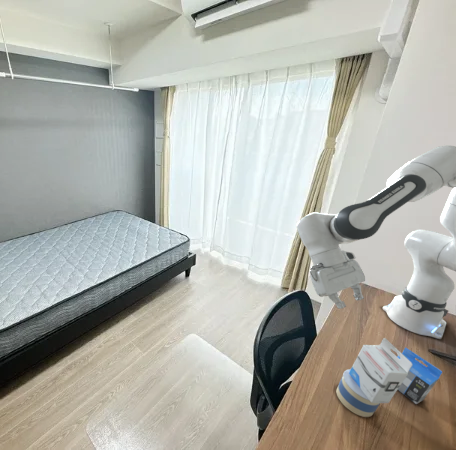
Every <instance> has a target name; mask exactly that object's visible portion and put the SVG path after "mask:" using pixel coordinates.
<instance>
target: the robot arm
mask: <svg viewBox="0 0 456 450" xmlns="http://www.w3.org/2000/svg"><path fill="white" fill-rule="evenodd" d="M385 186H386V187H385V188H384V189H382V190H381V191H379V192H378V193H376V194H375V195H373V196H372V197H371V198H368V199H367V200H366V201H363V202H359V203H354V204H350V205H347V206H346V207H344V208H342V209H341V210H340V211H339V212H338V213H336V214H335V213H334V214H333V213H329V214H328V213H321V212H317V211H314V212H311V213H309V214H306V215H305V216H304V217H302V218H300V219H299V221H298V222H297V223H296V229H297V230H296V231H297V233H298V235H299V237H300V240H301V242H302V244H303V246H304V247H305V248H306V250H307V251H308V256H309V258H310V260H311V262H312V264H313V265H311V266H310V269H309V275H310V281H311V284H312V286H313V288H314V291H315V293H316V294H317V296H319V297H321V298H322V297H328V298H329V300H330V301H332V302H333V303H334V304H335V306H336V308H337V309H344V308H346V307H347V304H346V303H345V301H344V300H341V299H340V297H339V294H338V293H340V292H342V291H344V290H347V289H349V288H351V289H352V291H353V298H354V300H355V301H362V300H364V298H365V297H364V295H363V293H362V286H361V285H360V284H361V283H364V282H365V281H366V275H365V273H364V270H363V269H362V267H361V266H360V264H359V263H358V261H357V260H356V258H357V257H356V255H355V254H354V253H353V252H351V251H345V250H342V249H341V247H340V245H342V244H343V245H345V244H346V245H347V244H351V243H355V242H357V241H360V240H366V239H369V238H371V237H373V236H374V235H375V234H376V233H377V232H378V231H379V230H380V228H381V226H382V225H383V222H384V221H385V220H386V218H387V217H389V215H392V213H394V212H395V211H397V210H398V209H400V208H401V207H403V206H404V205H405V204H407V203H415V202H418V201H420V200H422V199H425V198H426V197H428V196H430V195H432V194H434V193H435V192H437V191H439V190H440V189H442V188H443V187H448V188H452V189H451V191H450V193H449V195H448V198H447V200H446V202H445V204H444V207H443V209H442V212H441V214H440V216H439V222H440V224H441V226H442V227H443V228H444V229H445V230H447V231H448V232H449V233H450V235H451V236H450V235H448V234H443V233H441V232H437V231H433V230H427V229H426V230H425V229H416V230H413V231H411V232H410V233H409V234H408V235H407V236H406V237H405V239H404V242H403V243H404V244H403V245H404V249H405V250H406V251H407V252H408V254H409V255H410V257H411V260H412V264H413V272H412V275H411V278H410V279H409V282H408V284H407V286H405V287H404V289H403V290H402V292H401V294H399V295H395V296H394V297H393V299H392V301H391V302H390V303H389V304H388V305H384V306H383V307H382V310H383V311H384V312H385V313H386V314H387V317H388V318H389V319H390V320H391V321H392V322H393V323H395V324H396V325H398V326H399V327H401V328H402V329H404V330H407V331H409V332H412V333H414V334H416V335H420V336H426V337H427V336H428V337H431V338H435V339H438V340H442V338H443V336H444V333H445V330H446V326H447V321H446V320H444V317H446V316H447V315H448V313H449V310H448V309H446V307H447V301H448V300H449V298H450V296H451V295H452V294H453V292H454V290H455V282H454V280H453V279H452V278H451V277H450V276H449V275H448V274H447V272H446V271H445V268H446V269H449V270H452V271H454V272H456V146H454V145H440V146H438V147H434V148H431V149H430V150H428V151H426V152H424V153H422V154H420V155H418V156H416V157H415V158H413V159H412V160H410V161H408V162H407V163H405V164H404V165H403V166H401V167H400V168H399V169H397V170H396V171H395V172H394V173H393V174H392V175H391V176H389V178H388V179H387V180H386V185H385Z"/></svg>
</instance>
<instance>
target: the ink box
mask: <svg viewBox="0 0 456 450" xmlns="http://www.w3.org/2000/svg"><path fill="white" fill-rule="evenodd" d="M394 352H395V353H396V354H395V353H394ZM402 353H403V352H401V351H400V350H399V349H398V348H397V347H396V346H395V345H394V344H393V343H392V342H390V341H389V340H388V339H387V338H386V337H383V338H382V340H381V342H380V344H363V345H362V348H361V349H360V351H359V353H358V355H357V357H356V358H355V360H354V362H353V364H352V366H351V368H350V369H351V370H350V372H349V374H350V376H351V377H352V378H353V379H354V381H355V382H356V383H357V385H358V386H359V387H360V389H361V390H362V391H363V392H364V394H365V395H366V396H367V398H368V399H369V400H370V402H371V403H380V404H389V403H390V402H391V400H392V399H393V397H394V396H395V394H396V393H397V391H399V390H398V388H399V387H400V385H401V384H402V382H403V381H404V379H405V378H406V376H407V375H408V372H409V370H410V368H411V367H412V363H411V362H410V361H409V360H408V359H407V358H406V357H405V356H404V355H403V354H402ZM397 356H399V357H400V359H399V358H398V357H397Z"/></svg>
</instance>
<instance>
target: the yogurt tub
mask: <svg viewBox="0 0 456 450" xmlns="http://www.w3.org/2000/svg"><path fill="white" fill-rule="evenodd" d="M350 370H351V368H350V369H349V368H348V369H346V370H344V371H343V374H342V376H341V378H340V381H339V382H338V386H337V388H336V390H335V391H336V396H337V398H338V400H339V401H340V403H341V404H342V405H343V406H344V407H345V408H346V409H348V411H350V412H352V413H353V414H355V415H357V416H359V417H364V418H369V417H372V416H373V415H374V413H375V412H376V411H377V409H378V408H379V406H380V404H381V403H371V402H370V400H369V399H368V398H367V396H366V395H365V394H364V392H363V391H362V390H361V389H360V387H359V386H358V385H357V383H356V382H355V381H354V379H353V378H352V377H351V376H350V374H349V372H350Z"/></svg>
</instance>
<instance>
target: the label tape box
mask: <svg viewBox="0 0 456 450" xmlns="http://www.w3.org/2000/svg"><path fill="white" fill-rule="evenodd" d="M401 353H402V354H403V355H404V356H405V357H406V358H407V359H408V360H409V361H410V362H411V363H412V367H411V368H410V370H409V372H408V375H407V376H406V378H405V379H404V381H403V382H402V384H401V385H400V387H399V388H398V390H397V391H399V392H400V393H401V394H402V395H404V396H405V397H406V398H408V399H409V400H410V401H411V402H413V403H414V404H415V405H418V404H419V403H420V402H423V401H424V400H425V398H427V396H428V394H429V393H430V392H431V391H432V389H433V387H434V386H435V385H436V383H437V382H438V381H439V379H440V377H441V375H442V374H443V371H442V370H441V369H440V368H438V367H436V366H435V365H434V364H432V363H430V362H429V361H427V360H426V359H425V358H423V357H421V356H420V355H418V354H417V353H415V352H414V351H412V350H410V349H409V348H407V347H406V346H405V347H404V349H403V351H402V352H401ZM396 356H397V357H398V358H399V359H400V357H399V356H398V355H396ZM420 361H421V362H422V363H421V362H420Z"/></svg>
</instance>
